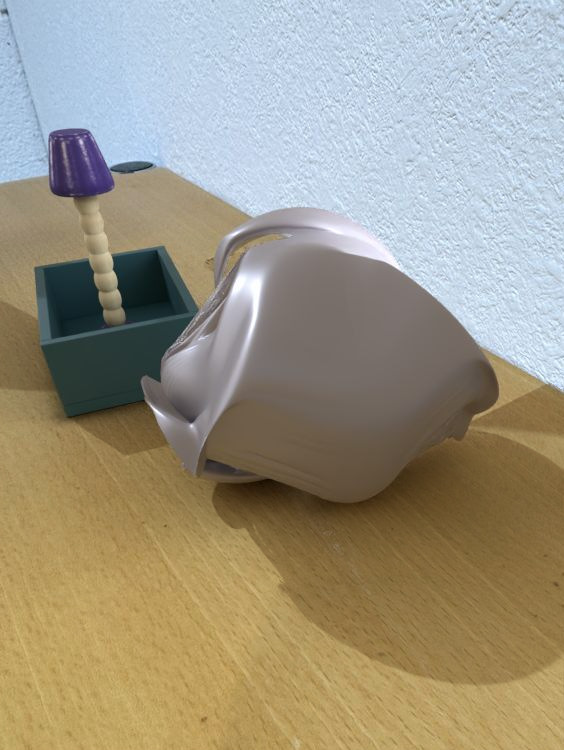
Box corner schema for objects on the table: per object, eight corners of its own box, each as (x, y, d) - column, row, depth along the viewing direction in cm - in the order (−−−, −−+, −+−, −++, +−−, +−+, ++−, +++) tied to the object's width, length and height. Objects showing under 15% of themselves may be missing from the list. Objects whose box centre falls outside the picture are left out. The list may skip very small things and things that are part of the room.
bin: (55, 329, 66) (33, 266, 62) (177, 306, 69) (164, 245, 65) (66, 417, 53) (40, 345, 49) (216, 384, 56) (201, 314, 53)
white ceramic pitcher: (193, 593, 40) (158, 391, 29) (137, 402, 50) (96, 199, 39) (493, 511, 46) (558, 321, 35) (389, 357, 57) (414, 172, 46)
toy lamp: (131, 327, 63) (74, 122, 53) (165, 339, 61) (113, 127, 51) (86, 348, 60) (18, 134, 50) (121, 361, 58) (56, 140, 48)
